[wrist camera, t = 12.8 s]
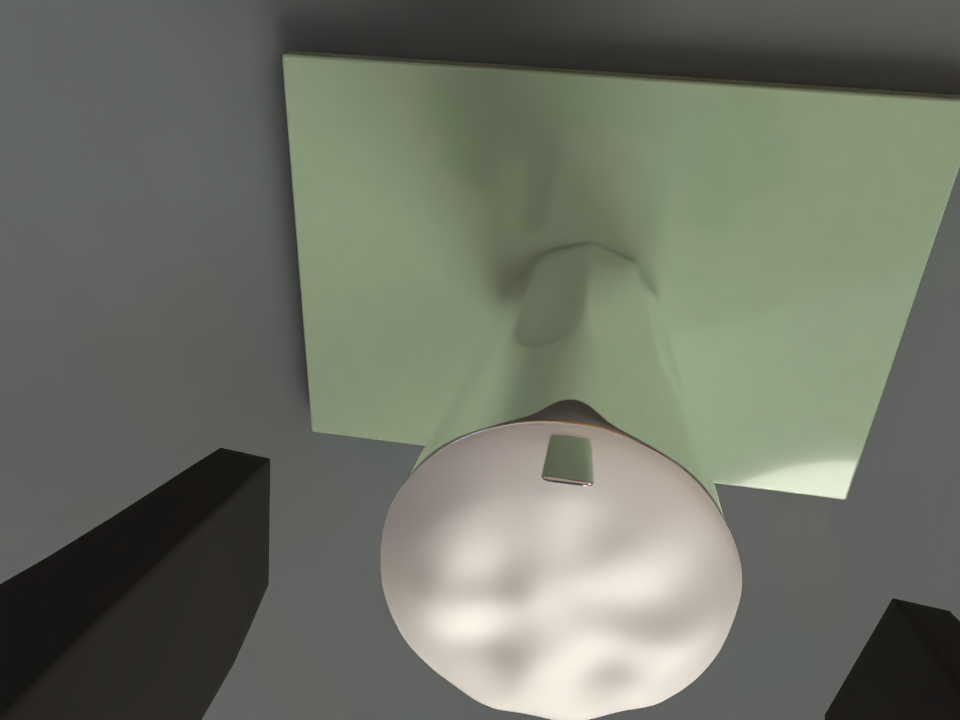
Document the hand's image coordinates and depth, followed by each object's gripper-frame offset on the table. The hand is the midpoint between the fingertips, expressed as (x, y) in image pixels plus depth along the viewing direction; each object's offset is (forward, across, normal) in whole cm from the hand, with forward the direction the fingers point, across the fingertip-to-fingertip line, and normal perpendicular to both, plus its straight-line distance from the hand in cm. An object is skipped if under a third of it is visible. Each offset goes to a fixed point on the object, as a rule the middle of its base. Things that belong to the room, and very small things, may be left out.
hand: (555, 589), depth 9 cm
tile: (+9, 0, 0) cm, 9 cm away
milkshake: (+9, 0, 0) cm, 9 cm away
